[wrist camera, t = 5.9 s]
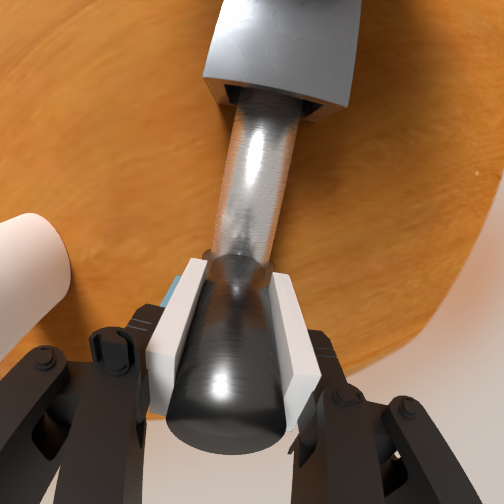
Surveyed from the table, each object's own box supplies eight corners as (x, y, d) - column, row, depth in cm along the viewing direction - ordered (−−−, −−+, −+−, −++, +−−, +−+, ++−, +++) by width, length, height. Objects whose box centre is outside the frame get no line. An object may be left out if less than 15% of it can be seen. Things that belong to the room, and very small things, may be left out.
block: (246, -7, 12) (246, -58, 6) (333, 12, 12) (363, -31, 7) (217, 103, 15) (202, 76, 9) (314, 123, 15) (347, 107, 10)
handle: (242, 64, 13) (234, -88, 2) (308, 78, 14) (417, -38, 2) (197, 324, 19) (158, 483, 7) (252, 333, 19) (258, 496, 8)
